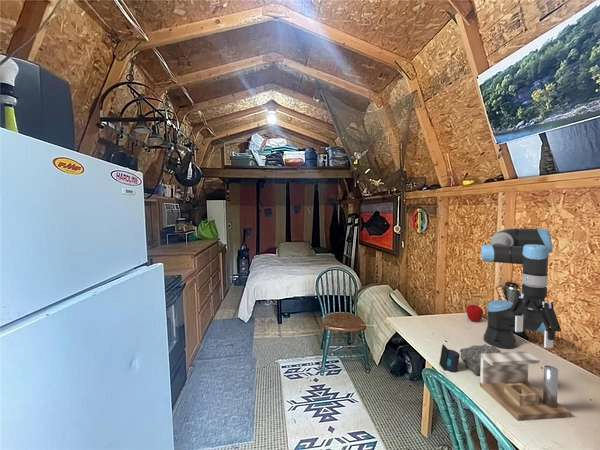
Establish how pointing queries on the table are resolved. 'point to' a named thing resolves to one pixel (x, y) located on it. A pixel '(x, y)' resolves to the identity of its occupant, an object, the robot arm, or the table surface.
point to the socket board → (515, 386)
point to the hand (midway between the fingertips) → (532, 339)
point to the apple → (474, 313)
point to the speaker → (449, 359)
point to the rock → (476, 356)
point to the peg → (550, 386)
